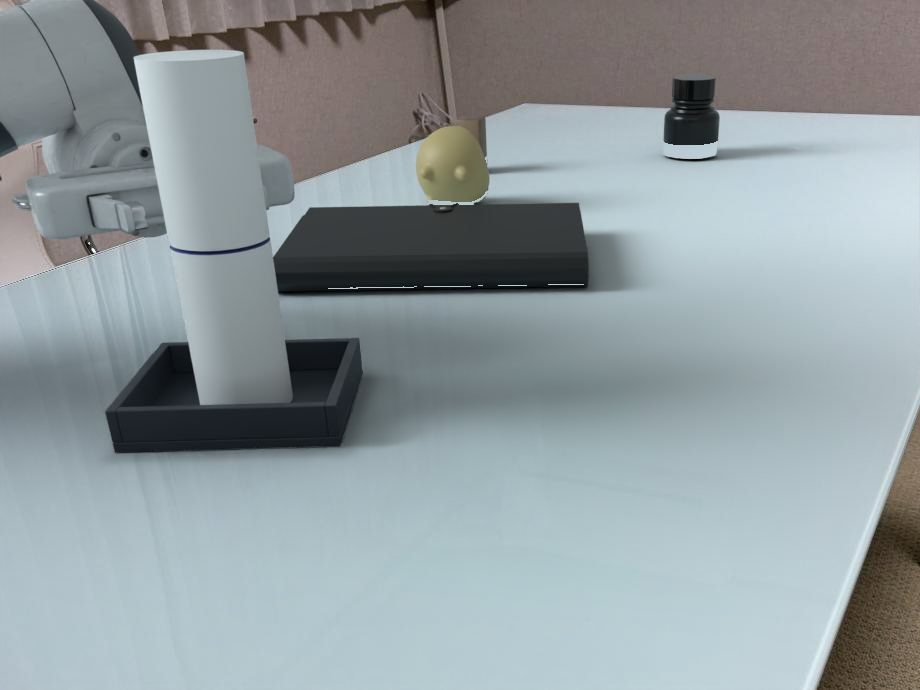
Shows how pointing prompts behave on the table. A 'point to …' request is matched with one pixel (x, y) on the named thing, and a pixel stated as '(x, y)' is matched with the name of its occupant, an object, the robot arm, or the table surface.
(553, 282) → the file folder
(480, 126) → the wooden block
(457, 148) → the tan rounded lump
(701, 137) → the ink bottle
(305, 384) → the tray
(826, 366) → the table surface
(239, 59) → the cylindrical container
